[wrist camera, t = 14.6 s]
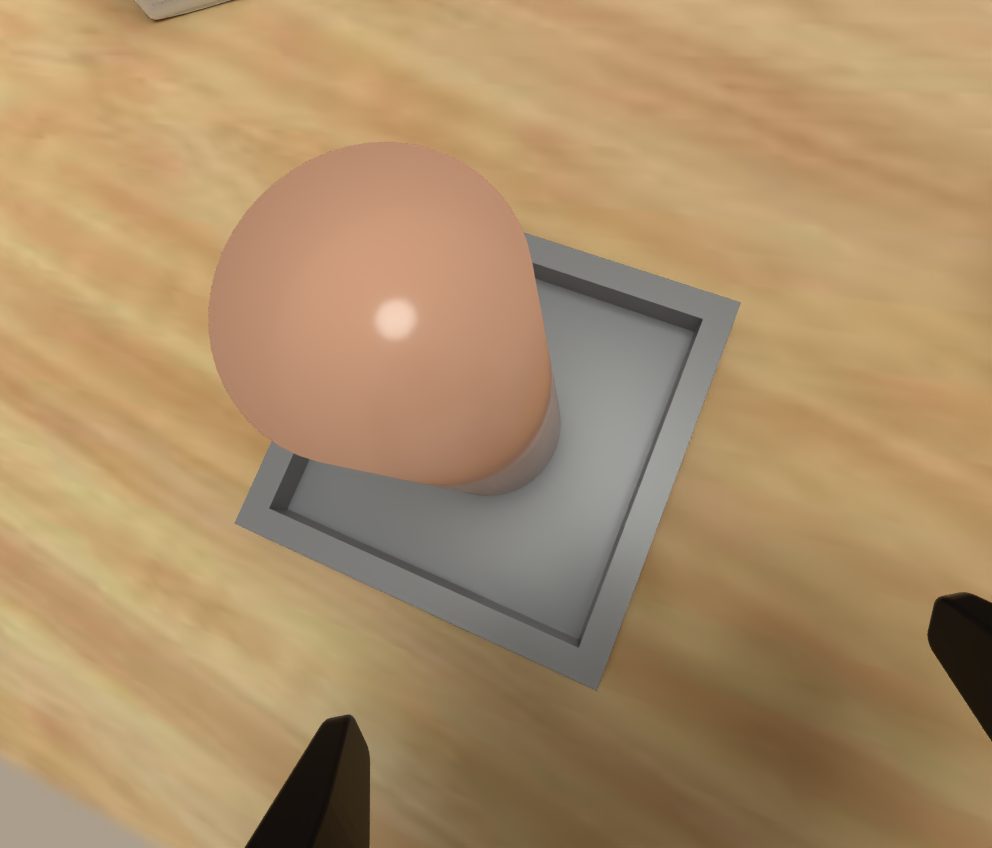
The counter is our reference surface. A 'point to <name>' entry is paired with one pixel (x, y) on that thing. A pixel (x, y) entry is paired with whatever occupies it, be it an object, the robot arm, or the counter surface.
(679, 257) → the counter surface
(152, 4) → the syrup box
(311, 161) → the peach rounded cylinder
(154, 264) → the counter surface
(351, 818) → the robot arm
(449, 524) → the tray
